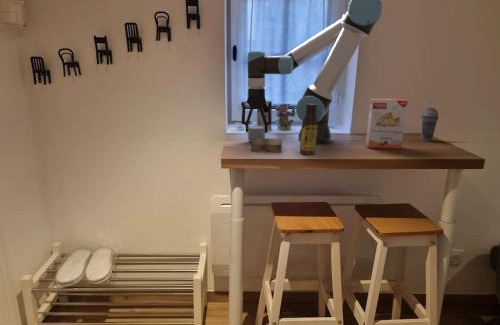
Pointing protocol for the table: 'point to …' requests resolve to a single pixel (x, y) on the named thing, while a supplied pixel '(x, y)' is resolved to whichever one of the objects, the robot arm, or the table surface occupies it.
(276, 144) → the walnut base
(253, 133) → the grey cube
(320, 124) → the robot arm
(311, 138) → the sauce bottle
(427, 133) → the beverage cup
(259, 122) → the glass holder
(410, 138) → the table surface
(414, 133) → the table surface
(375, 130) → the cracker box
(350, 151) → the table surface
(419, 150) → the table surface
